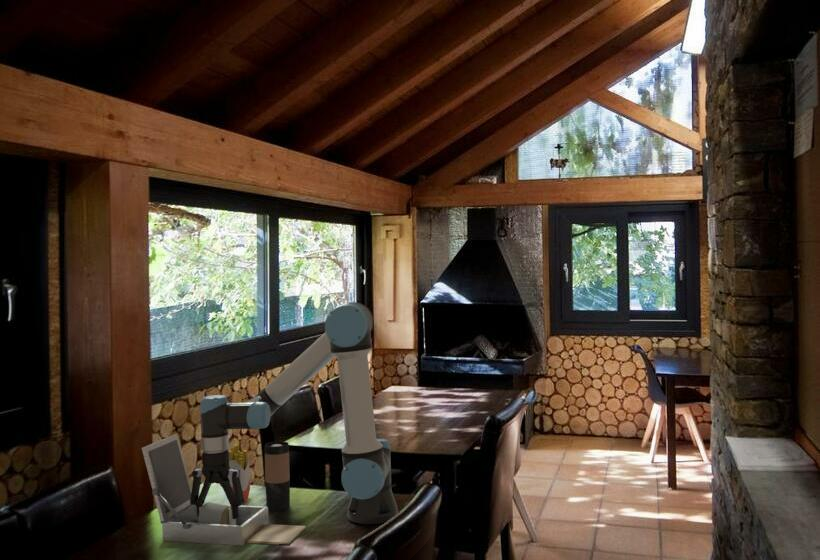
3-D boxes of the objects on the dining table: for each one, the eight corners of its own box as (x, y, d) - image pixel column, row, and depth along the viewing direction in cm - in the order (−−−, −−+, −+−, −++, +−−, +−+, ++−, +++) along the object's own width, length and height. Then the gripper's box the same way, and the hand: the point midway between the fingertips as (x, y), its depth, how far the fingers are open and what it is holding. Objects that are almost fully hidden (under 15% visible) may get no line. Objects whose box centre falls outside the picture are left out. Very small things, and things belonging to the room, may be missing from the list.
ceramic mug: (223, 536, 193) (222, 508, 193) (197, 533, 195) (197, 506, 196) (242, 523, 203) (242, 497, 203) (218, 521, 206) (217, 495, 206)
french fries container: (251, 496, 231) (250, 442, 231) (242, 506, 220) (240, 450, 220) (237, 496, 231) (236, 442, 231) (228, 506, 220) (226, 450, 220)
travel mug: (295, 505, 220) (293, 442, 220) (278, 512, 213) (277, 448, 213) (277, 502, 224) (276, 440, 224) (260, 509, 217) (259, 445, 218)
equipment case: (268, 523, 204) (266, 435, 204) (240, 547, 186) (238, 450, 186) (176, 519, 210) (174, 433, 210) (140, 541, 192) (138, 448, 192)
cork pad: (306, 528, 199) (306, 526, 199) (289, 545, 187) (289, 542, 187) (267, 526, 202) (267, 524, 202) (247, 542, 189) (247, 540, 189)
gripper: (255, 447, 200) (258, 526, 199) (188, 446, 204) (191, 523, 204) (243, 453, 192) (246, 535, 192) (174, 452, 197) (177, 532, 197)
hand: (218, 529), depth 198 cm, fingers closed on ceramic mug, 8 cm apart
